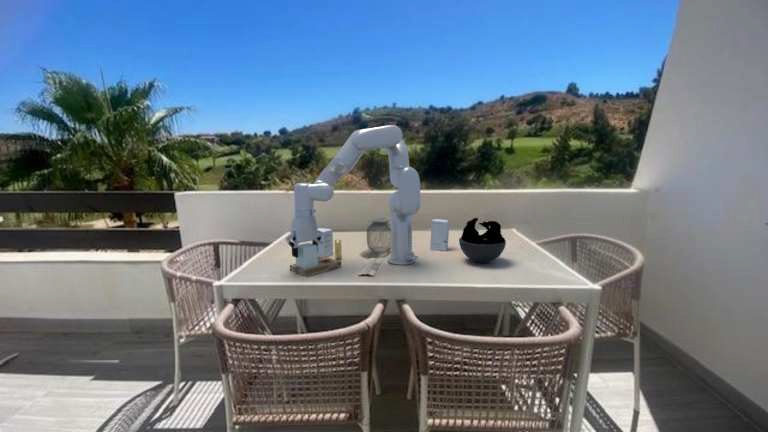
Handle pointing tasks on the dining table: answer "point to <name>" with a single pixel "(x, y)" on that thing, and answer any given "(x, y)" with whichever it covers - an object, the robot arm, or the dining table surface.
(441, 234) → the skincare box
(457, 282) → the dining table surface
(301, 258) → the pale blue block
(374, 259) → the newspaper
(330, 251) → the supplement box
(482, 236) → the bowl of black rocks
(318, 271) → the pegboard
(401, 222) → the robot arm
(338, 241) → the brass pin
